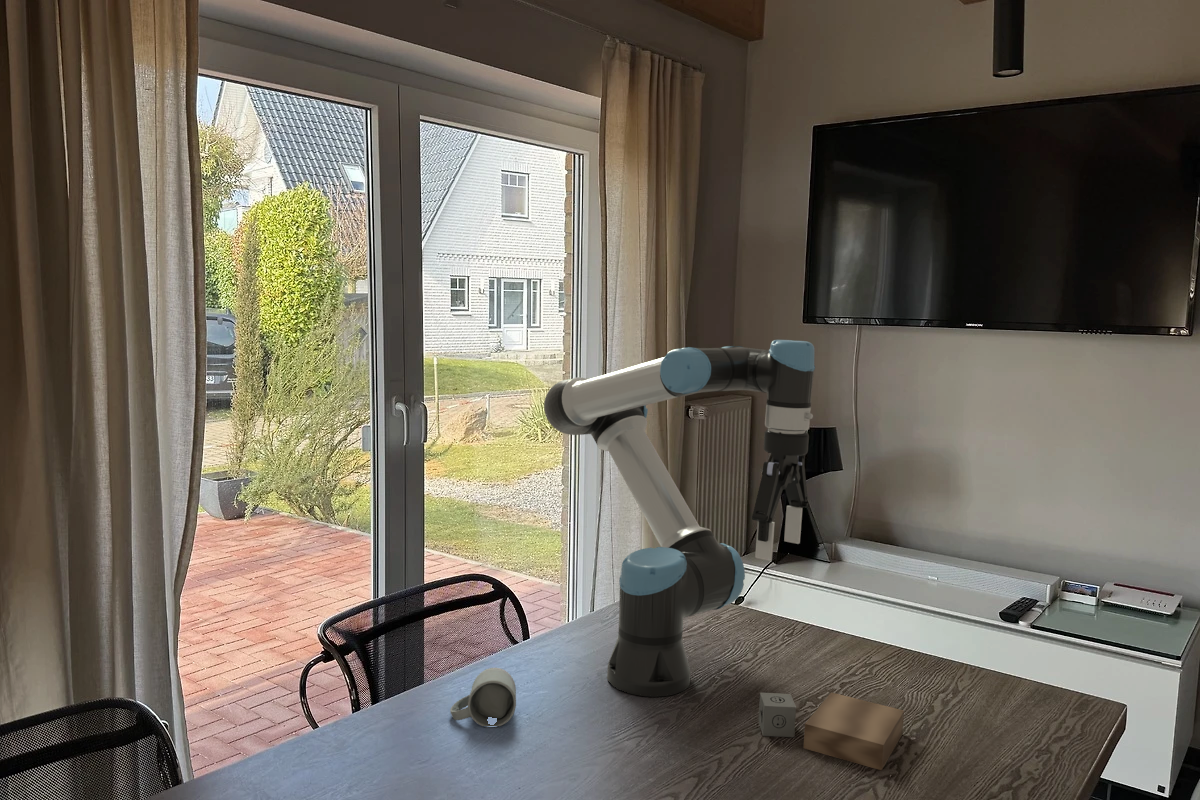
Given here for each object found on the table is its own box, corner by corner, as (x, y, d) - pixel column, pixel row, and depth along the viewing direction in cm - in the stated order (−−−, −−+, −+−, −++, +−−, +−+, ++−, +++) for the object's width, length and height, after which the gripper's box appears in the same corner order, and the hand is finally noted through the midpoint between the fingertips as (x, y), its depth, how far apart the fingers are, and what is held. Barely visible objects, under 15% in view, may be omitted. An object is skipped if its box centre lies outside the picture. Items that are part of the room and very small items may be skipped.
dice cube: (794, 737, 145) (762, 735, 145) (788, 723, 150) (758, 721, 150) (796, 707, 144) (764, 705, 144) (790, 693, 149) (760, 692, 149)
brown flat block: (803, 748, 141) (804, 723, 141) (829, 715, 153) (831, 692, 153) (881, 770, 135) (883, 744, 135) (902, 734, 147) (904, 710, 147)
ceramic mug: (515, 705, 153) (516, 661, 152) (515, 728, 145) (516, 681, 144) (452, 707, 152) (452, 662, 151) (448, 729, 144) (448, 683, 143)
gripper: (781, 441, 143) (772, 571, 146) (831, 425, 164) (822, 539, 167) (737, 435, 147) (729, 562, 149) (791, 420, 168) (783, 532, 171)
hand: (778, 550), depth 158 cm, fingers open, 13 cm apart
